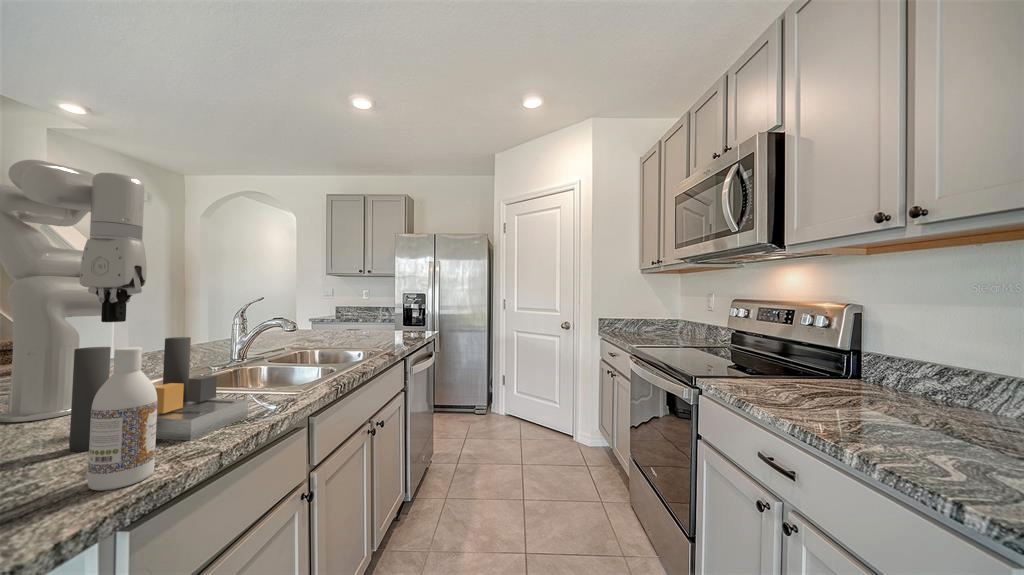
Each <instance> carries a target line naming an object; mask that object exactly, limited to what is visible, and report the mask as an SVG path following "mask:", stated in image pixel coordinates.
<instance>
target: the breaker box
mask: <svg viewBox="0 0 1024 575" xmlns="http://www.w3.org/2000/svg"><path fill="white" fill-rule="evenodd" d="M248 413H249V399H243V398H242V399H241V398H240V399H239V398H237V399H236V398H219V397H218V398H217V397H215V398H212V399H209V400H205V401H202V402H183V408H180V409H176V410H173V411H170V412H167V413H157V422H156V440H171V441H172V440H174V441H193V440H195V439H198V438H200V437H203V436H205V435H208V434H210V433H212V432H215V431H217V430H219V429H220V430H221V429H222V428H225V427H226V426H229V425H231V424H234V423H236V422H239V421H241V420H244V419H246V418H248V416H249V414H248Z"/></svg>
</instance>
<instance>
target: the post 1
mask: <svg viewBox="0 0 1024 575" xmlns="http://www.w3.org/2000/svg"><path fill="white" fill-rule="evenodd" d="M111 350H112V348H111V346H94V347H93V346H90V347H79V349H75V350H74V368H73V387H72V405H71V414H70V424H69V425H70V426H69V427H70V428H69V446H68V452H69V453H82V452H89V440H90V421H91V409H92V403H93V400H94V397H95V395H96V393H97V392H98V390H99V389H100V388H101V387H102V385H103V384H104V383H105V382H106V381H107V380H108V379H109V377H110V371H111V370H110V368H111V353H112V352H111Z"/></svg>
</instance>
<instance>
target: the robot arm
mask: <svg viewBox="0 0 1024 575" xmlns="http://www.w3.org/2000/svg"><path fill="white" fill-rule="evenodd" d="M8 169H9V170H8V173H7V174H8V178H9V180H10V182H12V184H13V185H10V184H8V185H7V184H4V183H3V184H1V183H0V263H1V265H2V268H3V270H4V271H5V273H6V274H7V275H8V277H9V278H10V279H11V280H12V281H14V282H13V283H12V284H11V285H10V287H9V290H8V302H9V307H10V311H11V317H12V326H13V332H12V333H13V336H12V358H11V361H12V362H11V375H10V376H11V378H10V379H11V380H10V392H9V395H8V396H7V398H6V397H5V398H3V399H2V400H1V399H0V400H1V401H0V404H1V405H6V406H7V410H5V411H2V412H0V423H21V422H22V423H23V422H31V421H40V420H47V419H52V418H58V417H62V416H67V415H71V405H72V387H73V368H74V350H75V349H79V348H80V340H81V339H80V335H79V331H78V330H77V329H76V328H75V327H74V326H72V324H71V323H69V322H68V321H67V320H66V319H65V318H72V317H97V316H98V317H100V318H101V320H100V321H101V322H102V323H123V322H126V321H127V304H128V303H129V302H130V299H131V298H132V296H135V295H138V294H141V293H142V292H143V289H142V287H144V286H145V284H146V281H147V270H148V269H147V267H148V266H147V254H146V248H145V244H144V242H143V236H144V232H143V231H144V212H145V211H144V210H145V209H144V208H145V186H144V183H143V181H141V180H139V179H138V178H136V177H134V176H133V177H132V176H130V175H127V174H120V173H116V172H115V173H114V172H99V173H96V174H94V173H92V172H90V171H87V170H83V169H79V168H75V167H70V166H66V165H62V164H58V163H54V162H49V161H44V160H40V159H39V160H38V159H24V160H20V161H17V162H15V163H13V164H12V165H11V166H10V167H9V168H8ZM89 213H90V222H89V223H90V226H89V229H90V230H89V238H87V240H86V243H85V244H84V248H83V250H80V249H70V248H60V247H55V246H53V245H52V244H51V242H50V240H49V239H48V237H47V236H46V235H45V234H44V233H43V232H41V231H40V230H38V229H37V228H35V227H34V226H31V225H30V223H31V224H39V225H47V226H54V227H55V226H56V227H72V226H75V225H77V224H78V223H80V222H81V221H82V219H83V218H85V216H86V215H88V214H89ZM28 223H29V224H28Z"/></svg>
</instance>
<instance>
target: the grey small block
mask: <svg viewBox="0 0 1024 575" xmlns="http://www.w3.org/2000/svg"><path fill="white" fill-rule="evenodd" d="M217 378H218V375H215V374H214V375H212V374H210V375H209V374H203V375H200V376H196V377H195V376H194V377H191V378H190V377H189V379H188V401H187V402H202V401H205V400H209V399H212V398H217Z"/></svg>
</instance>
